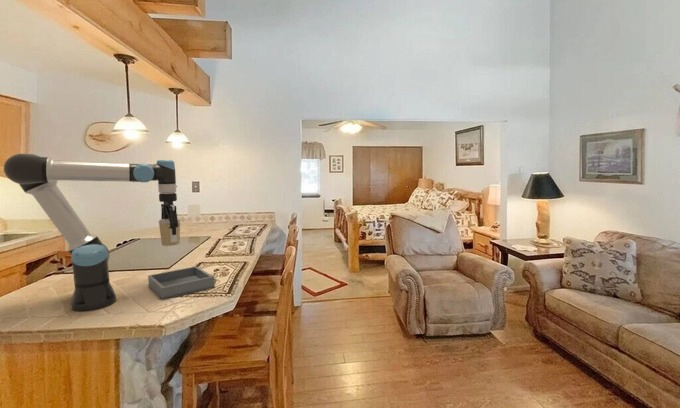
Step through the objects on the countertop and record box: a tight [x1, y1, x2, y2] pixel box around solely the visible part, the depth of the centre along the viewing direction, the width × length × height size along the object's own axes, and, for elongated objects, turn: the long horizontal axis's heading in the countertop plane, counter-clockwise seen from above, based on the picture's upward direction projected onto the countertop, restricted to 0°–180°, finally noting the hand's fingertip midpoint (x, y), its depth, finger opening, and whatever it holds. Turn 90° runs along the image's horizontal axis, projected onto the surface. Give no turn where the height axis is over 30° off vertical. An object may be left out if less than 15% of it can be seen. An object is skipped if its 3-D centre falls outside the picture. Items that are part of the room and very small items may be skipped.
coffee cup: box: [158, 217, 181, 247], centre depth 171 cm, size 9×9×12 cm
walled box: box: [147, 265, 216, 301], centre depth 165 cm, size 22×23×5 cm
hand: (170, 240), depth 172 cm, fingers closed on coffee cup, 9 cm apart
